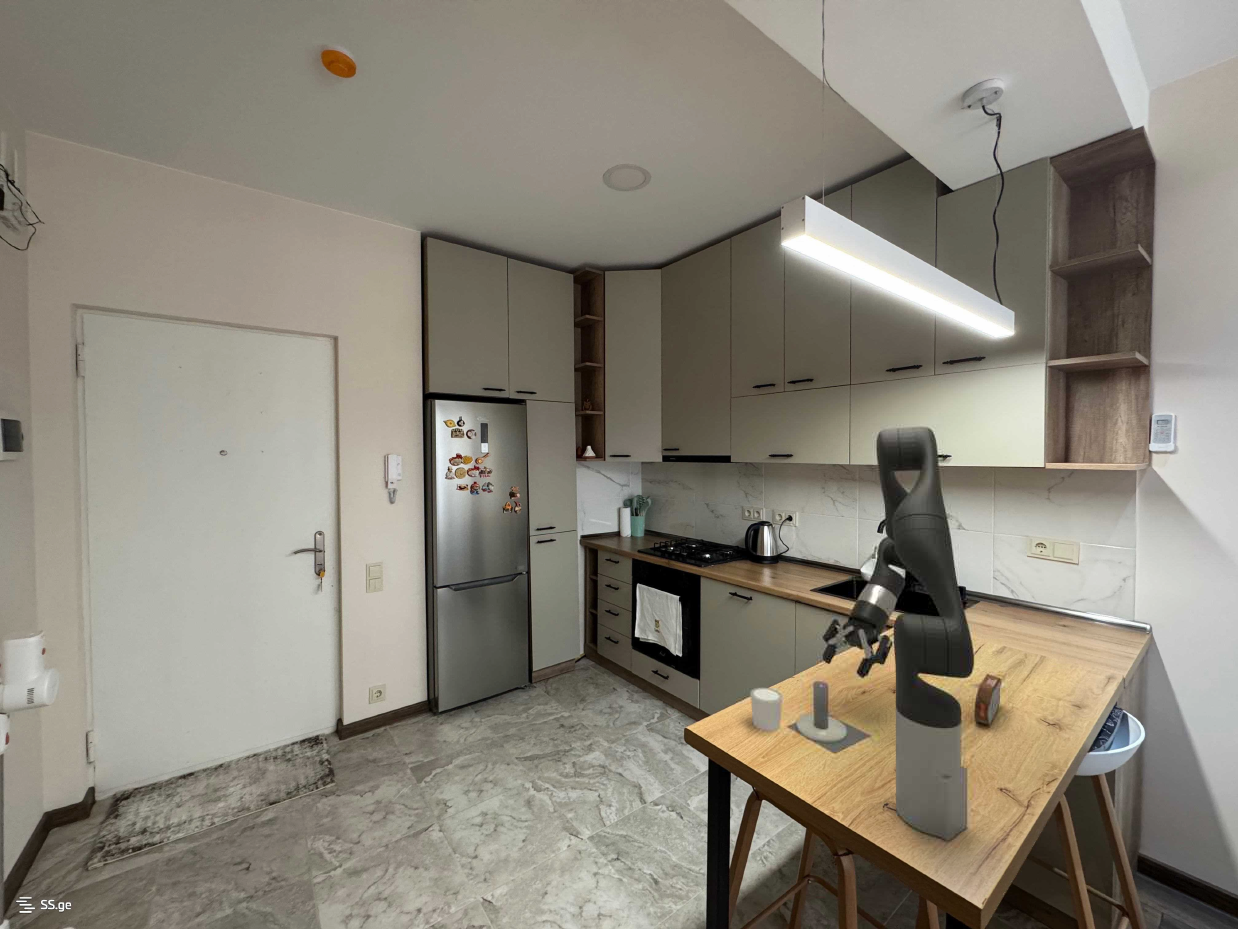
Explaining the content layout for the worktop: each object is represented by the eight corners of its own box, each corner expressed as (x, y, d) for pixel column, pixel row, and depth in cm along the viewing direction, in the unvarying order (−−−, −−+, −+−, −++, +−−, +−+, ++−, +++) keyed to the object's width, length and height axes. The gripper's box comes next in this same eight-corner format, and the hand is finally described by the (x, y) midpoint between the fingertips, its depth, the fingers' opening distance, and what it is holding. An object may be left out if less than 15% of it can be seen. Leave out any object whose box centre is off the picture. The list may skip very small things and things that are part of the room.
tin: (986, 702, 121) (987, 667, 121) (1003, 707, 119) (1003, 671, 119) (972, 727, 111) (972, 688, 110) (990, 732, 108) (990, 693, 108)
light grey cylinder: (761, 736, 108) (760, 703, 108) (744, 720, 115) (744, 689, 115) (789, 731, 110) (789, 699, 110) (771, 715, 116) (771, 685, 116)
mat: (871, 737, 107) (871, 735, 107) (834, 755, 101) (834, 753, 101) (822, 712, 117) (822, 711, 117) (786, 727, 111) (786, 726, 111)
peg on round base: (856, 734, 108) (856, 687, 108) (825, 748, 103) (825, 700, 102) (816, 713, 116) (816, 670, 116) (786, 726, 111) (786, 681, 111)
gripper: (838, 592, 123) (807, 648, 118) (896, 607, 111) (864, 671, 105) (852, 610, 126) (822, 666, 120) (910, 626, 114) (879, 690, 108)
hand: (842, 668), depth 113 cm, fingers open, 8 cm apart
